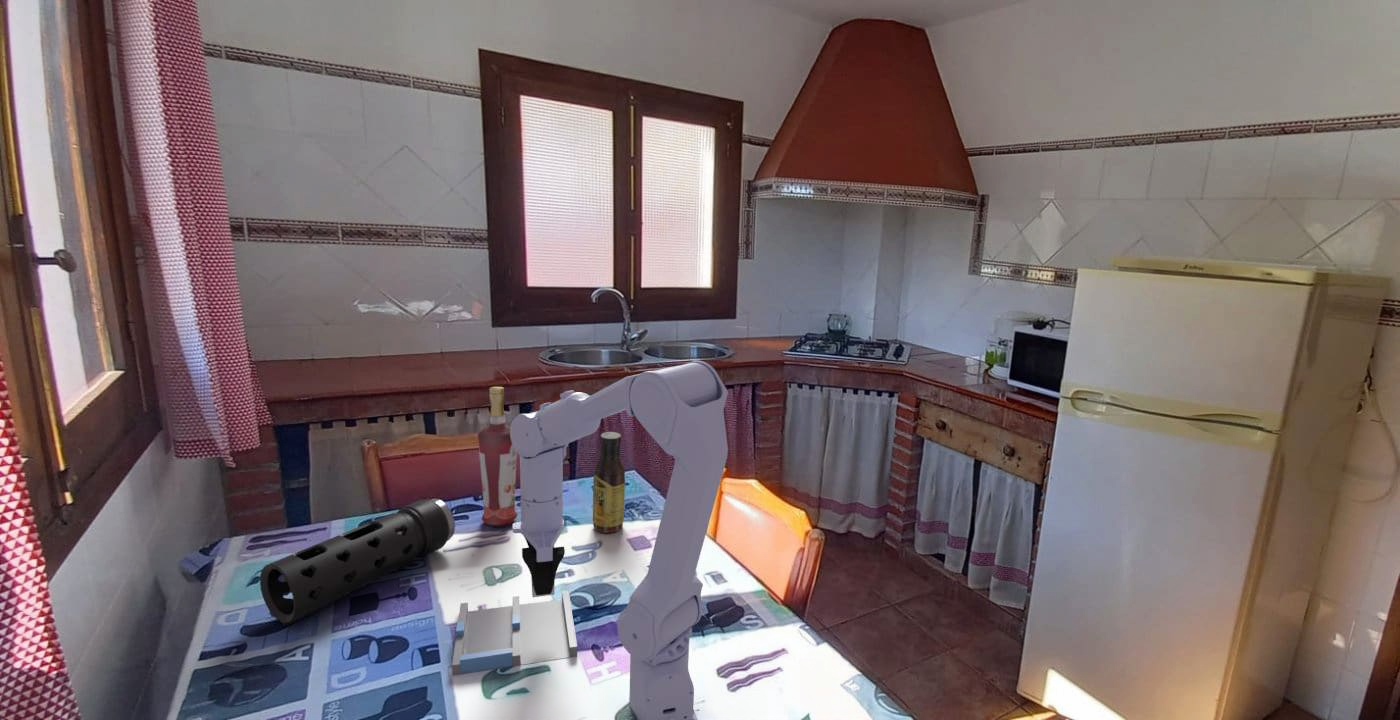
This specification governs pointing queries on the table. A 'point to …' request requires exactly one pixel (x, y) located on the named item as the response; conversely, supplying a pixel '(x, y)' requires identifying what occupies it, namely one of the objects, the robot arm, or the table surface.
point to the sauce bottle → (609, 486)
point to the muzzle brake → (354, 559)
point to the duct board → (513, 635)
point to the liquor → (497, 465)
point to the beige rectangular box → (541, 595)
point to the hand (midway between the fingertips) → (542, 582)
